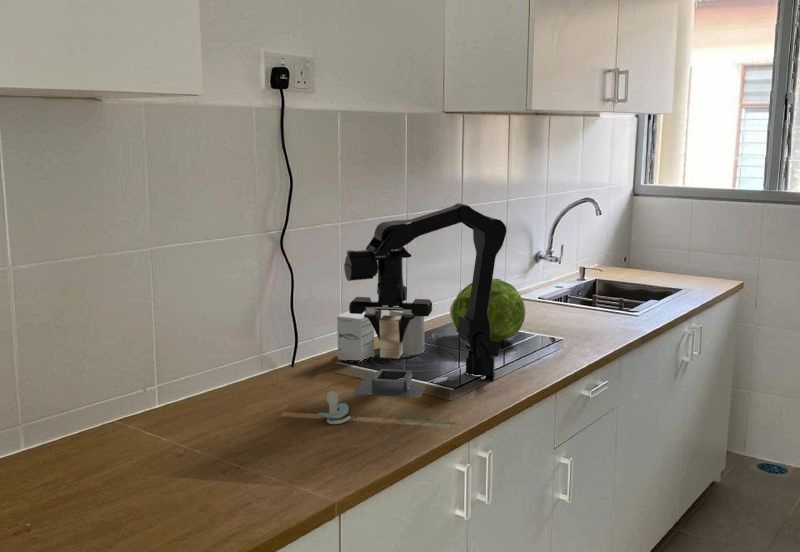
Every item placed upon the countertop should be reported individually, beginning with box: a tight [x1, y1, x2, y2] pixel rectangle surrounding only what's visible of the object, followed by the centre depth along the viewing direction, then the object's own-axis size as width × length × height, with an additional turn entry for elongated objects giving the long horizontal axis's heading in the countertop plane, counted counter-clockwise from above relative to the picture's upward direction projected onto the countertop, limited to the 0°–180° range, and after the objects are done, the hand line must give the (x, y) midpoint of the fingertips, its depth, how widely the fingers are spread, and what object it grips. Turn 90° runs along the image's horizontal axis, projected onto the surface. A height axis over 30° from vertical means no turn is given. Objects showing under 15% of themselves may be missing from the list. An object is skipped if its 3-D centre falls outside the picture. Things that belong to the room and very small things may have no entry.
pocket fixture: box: [351, 368, 426, 399], centre depth 192 cm, size 16×14×3 cm
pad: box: [402, 418, 456, 426], centre depth 177 cm, size 11×11×1 cm
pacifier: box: [317, 390, 353, 425], centre depth 174 cm, size 7×6×6 cm
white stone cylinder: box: [388, 306, 425, 355], centre depth 220 cm, size 10×10×12 cm
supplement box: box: [336, 310, 375, 361], centre depth 213 cm, size 7×7×13 cm
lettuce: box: [449, 278, 526, 344], centre depth 228 cm, size 19×23×18 cm
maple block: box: [379, 315, 403, 359], centre depth 190 cm, size 4×4×9 cm
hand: (391, 341), depth 190 cm, fingers closed on maple block, 4 cm apart
